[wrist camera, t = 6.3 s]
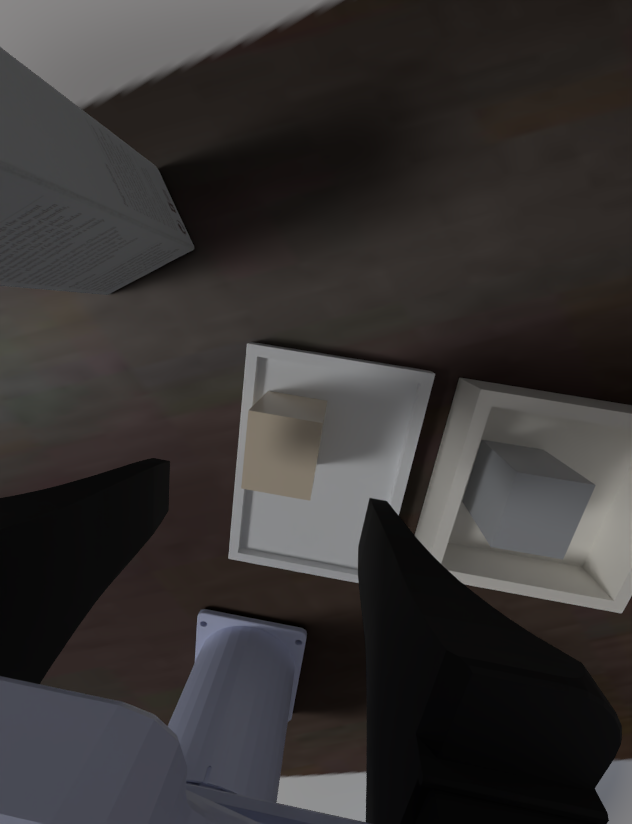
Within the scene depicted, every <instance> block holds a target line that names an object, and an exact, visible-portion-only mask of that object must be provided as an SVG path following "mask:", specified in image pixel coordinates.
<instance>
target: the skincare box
mask: <svg viewBox="0 0 632 824" xmlns="http://www.w3.org/2000/svg"><path fill="white" fill-rule="evenodd" d="M192 250H194V245H193V243H192V241H191V239H190V236H189V234H188V232H187V230H186V228H185V226H184V224H183V222H182V219H181V217H180V215H179V213H178V211H177V209H176V207H175V204H174V202H173V200H172V198H171V196H170V194H169V191H168V189H167V187H166V185H165V183H164V181H163V178H162V176H161V174H160V172H159V170H158V168H157V167H156V166H155V165H154V164H153V163H151V162H150V161H149V160H147V159H146V158H145V157H143V156H142V155H141V154H139V153H138V152H137V151H135V150H134V149H133V148H131V147H130V146H129V145H128V144H126V143H125V142H124V141H122V140H121V139H120V138H118V137H117V136H116V135H115V134H113V133H112V132H111V131H109V130H108V129H107V128H105V127H104V126H103V125H101V124H100V123H99V122H97V121H96V120H95V119H93V118H92V117H91V116H90V115H88V114H87V113H86V112H84V111H83V110H82V109H81V108H79V107H78V106H77V105H75V104H74V103H72V102H71V101H70V100H69V99H67V98H66V97H65V96H64V95H62V94H61V93H60V92H58V91H57V90H56V89H54V88H53V87H52V86H50V85H49V84H48V83H46V82H45V81H44V80H43V79H41V78H40V77H39V76H37V75H36V74H35V73H33V72H32V71H31V70H29V69H28V68H27V67H26V66H24V65H23V64H22V63H20V62H19V61H18V60H16V59H15V58H14V57H12V56H11V55H10V54H9V53H7V52H6V51H5V50H3V49H2V48H1V47H0V286H11V287H23V288H34V289H46V290H58V291H69V292H80V293H91V294H104V295H108V294H110V293H112V292H114V291H116V290H118V289H120V288H122V287H124V286H126V285H127V284H129V283H131V282H133V281H135V280H137V279H139V278H141V277H143V276H145V275H147V274H148V273H150V272H152V271H154V270H156V269H158V268H160V267H162V266H164V265H165V264H167V263H169V262H171V261H173V260H175V259H177V258H178V257H180V256H182V255H184V254H186V253H188V252H190V251H192Z"/></svg>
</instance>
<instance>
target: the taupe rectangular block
mask: <svg viewBox="0 0 632 824" xmlns="http://www.w3.org/2000/svg"><path fill="white" fill-rule="evenodd" d="M326 407H327V401H326V400H320V399H314V398H308V397H302V396H296V395H290V394H284V393H278V392H272V391H267V392H266V393H265V394H264V395H263V396H262V397H261V398H260V399H259V400H258V401H257V402H256V403H255V404H254V405H253V406H252V407H251V408H250V409H249V410H248V420H247V431H246V442H245V452H244V463H243V474H242V484H241V488H242V489H247V490H253V491H258V492H264V493H270V494H275V495H281V496H286V497H292V498H297V499H303V500H309V501H310V499H311V493H312V488H313V483H314V477H315V472H316V467H317V461H318V455H319V449H320V443H321V437H322V431H323V425H324V419H325V413H326Z"/></svg>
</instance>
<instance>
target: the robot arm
mask: <svg viewBox="0 0 632 824" xmlns="http://www.w3.org/2000/svg"><path fill="white" fill-rule="evenodd" d="M169 471H170V461H166V460H161V459H155V458H152V459H147V460H143V461H139V462H136V463H132V464H129V465H126V466H123V467H120V468H117V469H113V470H110V471H107V472H104V473H101V474H98V475H94V476H91V477H88V478H84V479H81V480H77V481H74V482H70V483H67V484H63V485H59V486H56V487H52V488H47V489H43V490H39V491H34V492H30V493H25V494H20V495H15V496H10V497H4V498H0V824H607V822H608V821H609V820H608V814H607V811H606V809H605V808H604V806H603V804H602V802H601V800H600V798H599V796H598V794H597V792H596V790H595V787H596V785H597V784H598V782H599V781H600V779H601V778H602V776H603V774H604V773H605V772H606V770H607V769H608V767H609V765H610V764H611V763H612V761H613V759H614V758H615V756H616V754H617V751H618V749H619V747H620V744H621V740H622V726H621V723H620V721H619V719H618V716H617V714H616V712H615V711H614V709H613V708H612V706H611V705H610V703H609V702H608V700H607V699H606V697H605V696H604V694H603V693H602V691H601V690H600V689H599V687H598V686H597V684H596V683H595V681H594V680H593V678H592V677H591V675H590V674H589V672H588V671H587V670H586V668H585V667H584V665H583V664H582V663H581V662H579V661H577V660H576V659H574V658H572V657H570V656H569V655H567V654H565V653H564V652H562V651H560V650H559V649H557V648H555V647H553V646H552V645H550V644H548V643H547V642H545V641H543V640H541V639H540V638H538V637H536V636H535V635H533V634H532V633H530V632H528V631H527V630H525V629H524V628H522V627H521V626H519V625H518V624H516V623H515V622H513V621H512V620H510V619H509V618H507V617H506V616H504V615H503V614H502V613H500V612H499V611H497V610H496V609H495V608H493V607H492V606H490V605H489V604H488V603H487V602H485V601H484V600H483V599H481V598H480V597H479V596H478V595H476V594H475V593H474V592H472V591H471V590H470V589H469V588H467V587H466V586H465V585H464V584H463V583H461V582H460V581H459V580H458V579H457V578H456V577H455V576H454V575H453V574H451V573H450V572H449V571H448V570H447V569H446V568H445V567H444V566H443V565H442V564H441V563H440V562H439V561H438V560H437V559H436V558H435V557H434V556H433V555H432V554H431V553H430V552H429V551H428V550H427V549H426V548H425V547H424V546H423V545H422V543H421V542H420V541H419V540H418V539H417V538H416V537H415V535H414V534H413V533H412V532H411V531H410V529H409V528H408V527H407V526H406V524H405V523H404V522H403V521H402V519H401V518H400V517H399V516H398V514H397V513H396V512H395V510H394V509H393V508H392V507H391V505H390V504H389V503H388V502H387V501H384V500H379V499H373V498H369V502H368V507H367V511H366V515H365V520H364V524H363V528H362V532H361V537H360V541H359V545H358V580H359V590H360V599H361V608H362V617H363V626H364V635H365V647H366V681H367V788H366V789H367V790H366V791H367V792H366V822H361V821H357V820H352V819H348V818H343V817H339V816H334V815H329V814H325V813H320V812H316V811H311V810H306V809H301V808H297V807H293V806H288V805H284V804H279V803H276V802H277V794H278V787H279V780H280V773H281V766H282V759H283V752H284V745H285V737H286V730H287V723H288V722H289V721H290V720H291V718H292V713H293V707H294V702H295V697H296V691H297V686H298V681H299V675H300V670H301V665H302V660H303V654H304V649H305V644H306V638H307V632H306V630H305V629H303V628H300V627H295V626H290V625H285V624H280V623H275V622H269V621H264V620H259V619H254V618H249V617H244V616H238V615H233V614H228V613H223V612H218V611H213V610H207V609H203V610H201V611H200V612H199V614H198V617H197V634H196V652H195V664H194V666H193V669H192V671H191V673H190V676H189V678H188V680H187V683H186V685H185V687H184V690H183V692H182V694H181V697H180V699H179V701H178V703H177V706H176V708H175V710H174V713H173V715H172V717H171V720H170V722H169V724H168V726H166V725H165V724H164V723H163V722H162V721H161V720H160V719H159V718H158V717H157V716H156V715H154V714H152V713H149V712H147V711H144V710H142V709H140V708H137V707H135V706H132V705H130V704H127V703H125V702H121V701H116V700H111V699H106V698H102V697H97V696H92V695H88V694H83V693H78V692H73V691H69V690H64V689H59V688H54V687H50V686H45V685H40V682H41V681H42V679H43V678H44V676H45V675H46V673H47V672H48V670H49V668H50V667H51V665H52V664H53V662H54V661H55V659H56V658H57V657H58V655H59V654H60V652H61V651H62V649H63V648H64V646H65V645H66V643H67V642H68V640H69V639H70V637H71V636H72V634H73V633H74V631H75V630H76V629H77V627H78V626H79V624H80V623H81V622H82V620H83V619H84V618H85V616H86V615H87V613H88V612H89V611H90V609H91V608H92V606H93V605H94V604H95V602H96V601H97V600H98V598H99V597H100V596H101V595H102V593H103V592H104V591H105V590H106V588H107V587H108V586H109V585H110V584H111V583H112V581H113V580H114V579H115V578H116V577H117V576H118V575H119V573H120V572H121V571H122V570H123V569H124V568H125V566H126V565H127V564H128V563H129V562H130V561H131V560H132V558H133V557H134V556H135V555H136V554H137V553H138V551H139V550H140V549H141V548H142V547H143V546H144V544H145V543H146V542H147V541H148V540H149V539H150V537H151V536H152V535H153V534H154V532H155V531H156V529H157V528H158V526H159V525H160V523H161V522H162V520H163V518H164V517H165V515H166V514H167V512H168V506H169Z"/></svg>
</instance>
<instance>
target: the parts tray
mask: <svg viewBox="0 0 632 824" xmlns="http://www.w3.org/2000/svg"><path fill="white" fill-rule="evenodd" d="M434 377H435V373H433V372H432V371H428V370H422V369H416V368H410V367H404V366H398V365H391V364H385V363H379V362H373V361H367V360H361V359H354V358H348V357H342V356H336V355H330V354H323V353H317V352H311V351H305V350H299V349H293V348H286V347H280V346H274V345H268V344H262V343H256V342H250V343H247V350H246V362H245V373H244V384H243V396H242V407H241V419H240V430H239V442H238V453H237V465H236V476H235V488H234V499H233V511H232V522H231V534H230V545H229V556H228V559H233V560H238V561H244V562H249V563H254V564H260V565H265V566H270V567H276V568H281V569H286V570H292V571H297V572H302V573H308V574H313V575H318V576H324V577H329V578H334V579H340V580H345V581H350V582H356V583H359V580H358V545H359V541H360V537H361V532H362V528H363V524H364V520H365V515H366V511H367V507H368V502H369V498H373V499H379V500H384V501H387V502H388V503H389V504H390V505H391V507H392V508H393V509H394V510H395V512H396V513H397V514H398V516H399V512H400V508H401V504H402V501H403V497H404V493H405V489H406V485H407V481H408V477H409V474H410V470H411V466H412V462H413V458H414V454H415V450H416V447H417V443H418V439H419V435H420V431H421V427H422V424H423V420H424V416H425V412H426V408H427V404H428V400H429V397H430V393H431V389H432V385H433V381H434ZM267 391H272V392H278V393H284V394H290V395H296V396H302V397H308V398H314V399H320V400H326V401H327V407H326V413H325V419H324V425H323V431H322V437H321V443H320V449H319V455H318V461H317V467H316V472H315V477H314V483H313V488H312V493H311V499H310V501H309V500H303V499H297V498H292V497H286V496H281V495H275V494H270V493H264V492H258V491H253V490H247V489H242V488H241V484H242V474H243V463H244V452H245V442H246V431H247V420H248V410H249V409H250V408H251V407H252V406H253V405H254V404H255V403H256V402H257V401H258V400H259V399H260V398H261V397H262V396H263V395H264V394H265V393H266V392H267Z"/></svg>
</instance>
